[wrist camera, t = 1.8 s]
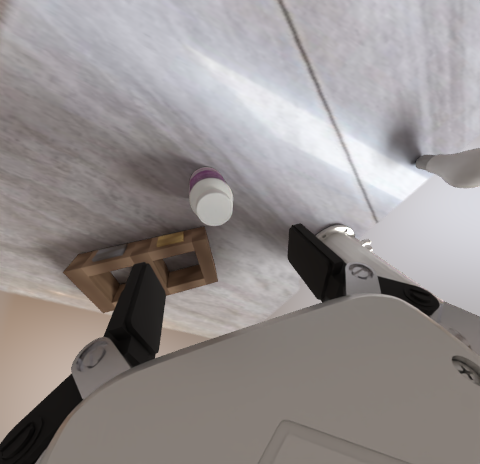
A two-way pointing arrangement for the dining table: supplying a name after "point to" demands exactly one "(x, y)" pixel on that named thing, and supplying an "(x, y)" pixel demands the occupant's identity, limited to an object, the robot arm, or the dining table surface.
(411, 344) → the robot arm
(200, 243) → the socket block
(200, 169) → the pill bottle
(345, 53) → the dining table surface
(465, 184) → the lightbulb
